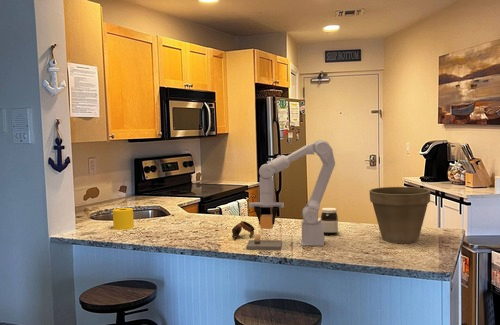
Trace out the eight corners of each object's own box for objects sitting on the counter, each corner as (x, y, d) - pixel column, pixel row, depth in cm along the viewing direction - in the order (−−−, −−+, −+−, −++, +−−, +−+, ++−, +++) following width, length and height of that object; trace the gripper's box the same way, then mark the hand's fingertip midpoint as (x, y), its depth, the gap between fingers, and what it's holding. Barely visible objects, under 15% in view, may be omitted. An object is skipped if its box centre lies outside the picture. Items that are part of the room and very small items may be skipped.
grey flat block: (282, 243, 194) (281, 232, 194) (280, 250, 184) (280, 238, 184) (249, 243, 196) (249, 232, 196) (246, 249, 186) (246, 237, 186)
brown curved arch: (237, 234, 215) (245, 219, 214) (251, 246, 210) (260, 230, 209) (223, 233, 205) (231, 218, 204) (237, 245, 200) (247, 229, 199)
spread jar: (337, 236, 205) (337, 211, 204) (312, 236, 207) (312, 210, 206) (338, 230, 216) (337, 206, 215) (314, 230, 219) (313, 206, 218)
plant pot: (358, 236, 204) (357, 188, 202) (403, 230, 213) (403, 184, 211) (394, 250, 181) (394, 195, 179) (443, 243, 189) (443, 191, 188)
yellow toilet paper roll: (136, 225, 239) (135, 207, 238) (129, 229, 229) (128, 211, 228) (118, 225, 240) (117, 207, 239) (110, 229, 230) (109, 211, 229)
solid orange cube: (273, 226, 197) (273, 214, 196) (272, 228, 192) (272, 217, 191) (261, 226, 197) (261, 214, 197) (260, 228, 192) (260, 216, 192)
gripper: (284, 191, 196) (284, 222, 197) (250, 191, 198) (251, 222, 199) (283, 193, 189) (283, 225, 190) (248, 193, 191) (248, 225, 192)
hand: (266, 224), depth 194 cm, fingers closed on solid orange cube, 5 cm apart
